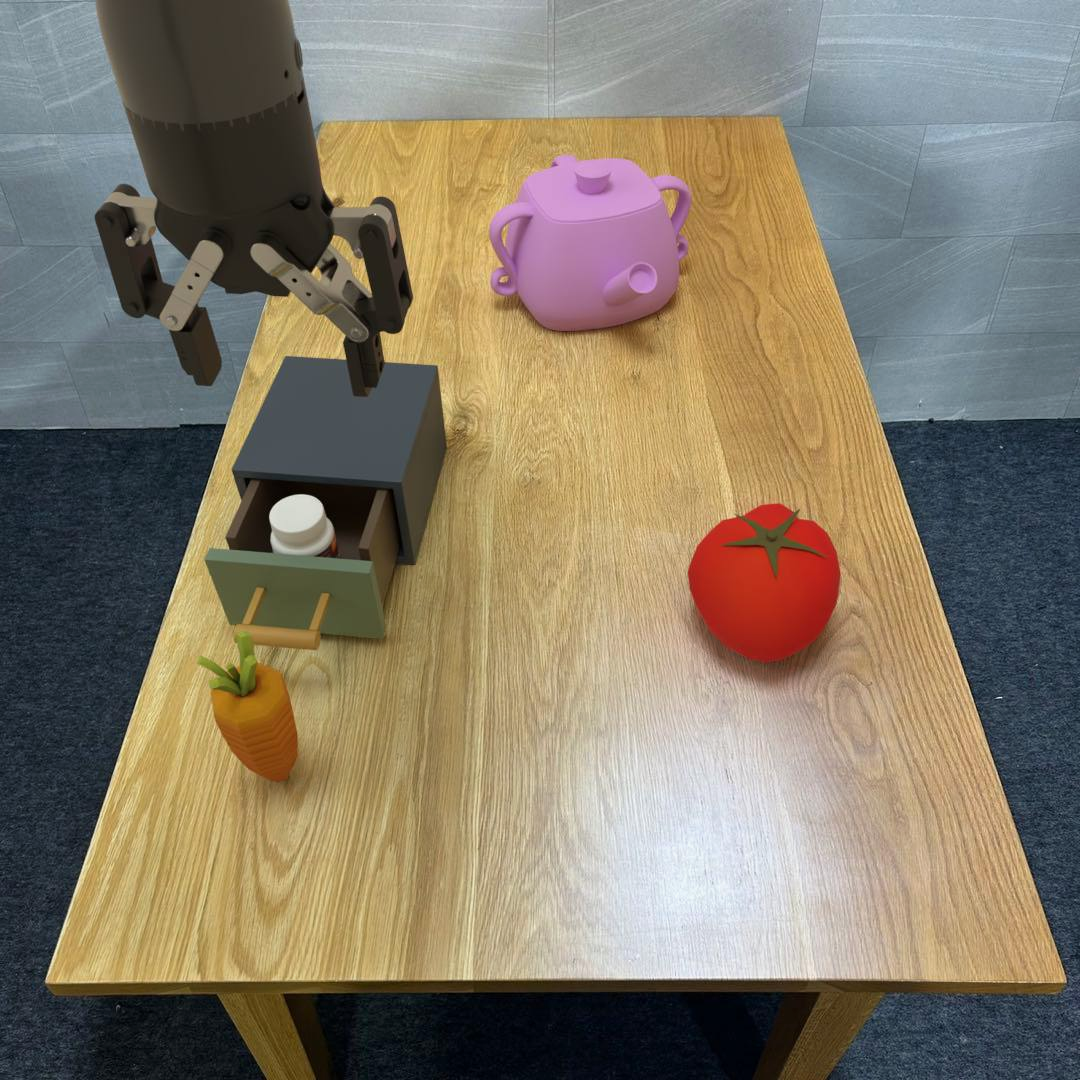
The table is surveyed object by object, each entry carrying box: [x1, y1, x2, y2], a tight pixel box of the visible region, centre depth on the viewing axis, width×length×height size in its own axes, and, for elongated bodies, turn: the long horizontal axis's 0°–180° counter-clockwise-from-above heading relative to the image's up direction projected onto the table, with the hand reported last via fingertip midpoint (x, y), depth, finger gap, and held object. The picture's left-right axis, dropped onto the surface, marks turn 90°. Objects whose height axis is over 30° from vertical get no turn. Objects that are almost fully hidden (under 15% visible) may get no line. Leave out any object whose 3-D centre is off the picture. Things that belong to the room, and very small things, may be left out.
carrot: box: [197, 631, 299, 783], centre depth 67 cm, size 5×5×15 cm
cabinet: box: [231, 355, 448, 566], centre depth 88 cm, size 15×14×10 cm
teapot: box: [488, 154, 693, 332], centre depth 108 cm, size 19×21×14 cm
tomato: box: [687, 502, 841, 663], centre depth 78 cm, size 11×13×10 cm
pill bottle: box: [269, 494, 341, 559], centre depth 79 cm, size 5×5×8 cm
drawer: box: [203, 478, 402, 651], centre depth 81 cm, size 18×12×8 cm
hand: (287, 382), depth 55 cm, fingers open, 8 cm apart
